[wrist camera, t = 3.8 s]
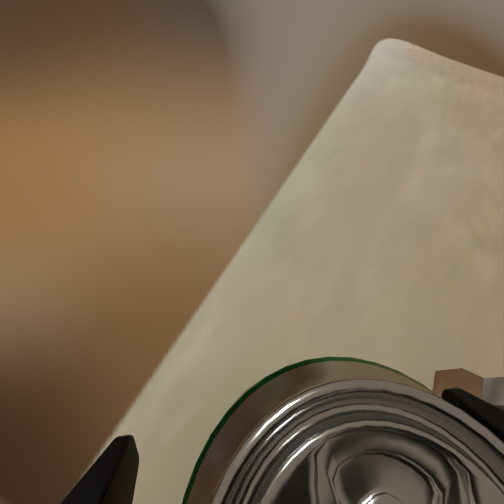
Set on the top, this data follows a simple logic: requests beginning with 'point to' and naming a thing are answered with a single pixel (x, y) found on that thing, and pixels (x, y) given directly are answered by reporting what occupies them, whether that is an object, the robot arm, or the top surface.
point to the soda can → (346, 442)
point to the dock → (471, 385)
